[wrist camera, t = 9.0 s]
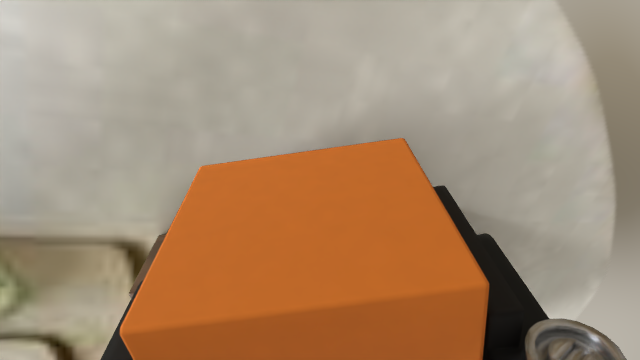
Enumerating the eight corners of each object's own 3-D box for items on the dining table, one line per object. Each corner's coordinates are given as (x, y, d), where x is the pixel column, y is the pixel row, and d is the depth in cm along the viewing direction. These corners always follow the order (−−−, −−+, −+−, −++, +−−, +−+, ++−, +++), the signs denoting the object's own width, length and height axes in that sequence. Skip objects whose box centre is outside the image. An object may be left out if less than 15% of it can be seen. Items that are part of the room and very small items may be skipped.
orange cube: (199, 164, 10) (114, 332, 5) (404, 136, 10) (492, 283, 5) (244, 311, 12) (212, 510, 8) (410, 290, 12) (473, 480, 8)
